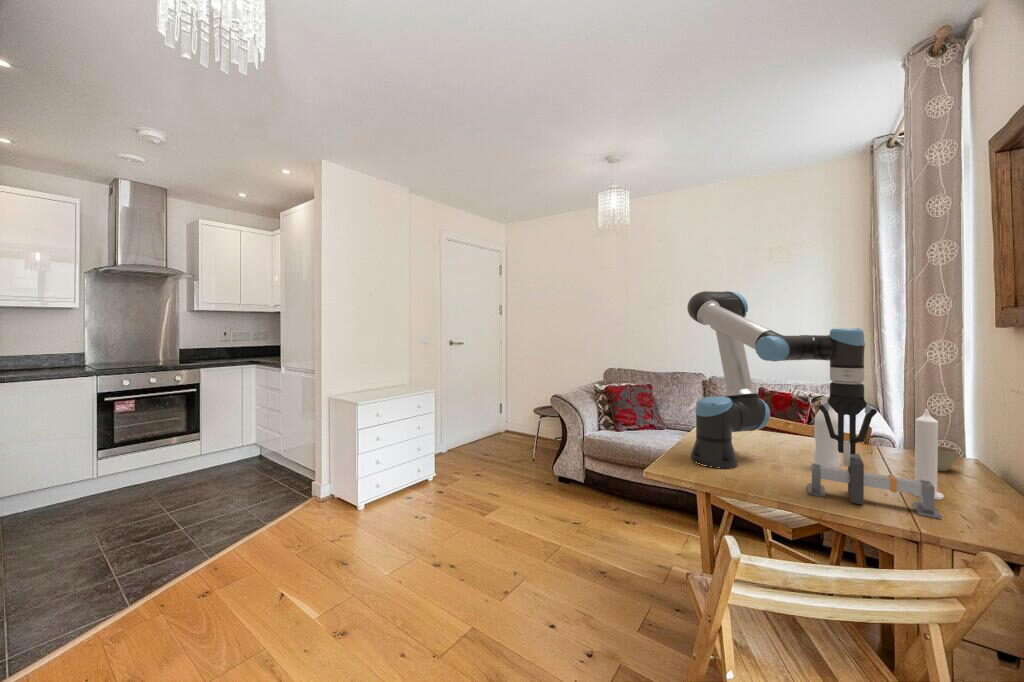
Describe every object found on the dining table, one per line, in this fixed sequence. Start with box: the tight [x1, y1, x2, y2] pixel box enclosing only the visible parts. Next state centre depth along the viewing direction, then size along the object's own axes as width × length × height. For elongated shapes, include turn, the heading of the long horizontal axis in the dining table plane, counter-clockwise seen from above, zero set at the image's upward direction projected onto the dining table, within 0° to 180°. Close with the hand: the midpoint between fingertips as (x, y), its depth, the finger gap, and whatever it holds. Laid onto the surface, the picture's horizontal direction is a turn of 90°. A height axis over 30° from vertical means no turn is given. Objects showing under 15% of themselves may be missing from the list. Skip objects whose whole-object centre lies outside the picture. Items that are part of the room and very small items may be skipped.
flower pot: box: [937, 445, 959, 472], centre depth 136 cm, size 10×10×7 cm
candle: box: [912, 408, 945, 501], centre depth 114 cm, size 7×7×25 cm
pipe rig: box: [806, 463, 942, 520], centre depth 111 cm, size 27×8×8 cm, turn 54°
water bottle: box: [813, 396, 842, 469], centre depth 135 cm, size 7×7×25 cm
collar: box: [847, 453, 865, 506], centre depth 112 cm, size 2×11×11 cm, turn 143°
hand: (846, 464), depth 113 cm, fingers closed
